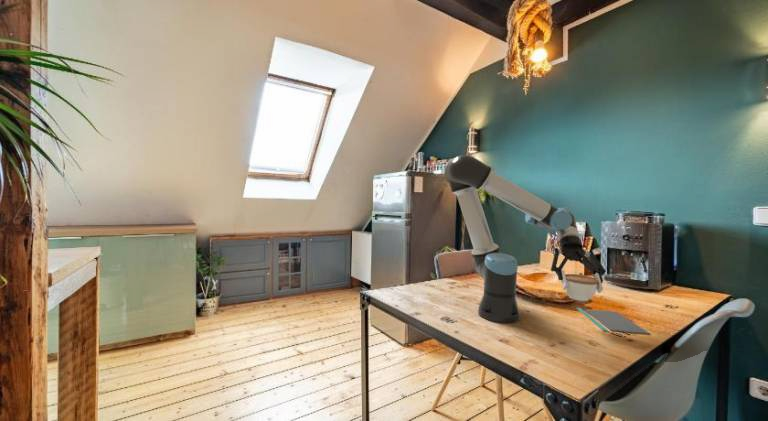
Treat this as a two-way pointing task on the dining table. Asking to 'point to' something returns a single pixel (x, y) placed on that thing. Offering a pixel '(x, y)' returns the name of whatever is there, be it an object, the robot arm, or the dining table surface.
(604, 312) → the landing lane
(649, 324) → the dining table surface
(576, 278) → the lidded jar
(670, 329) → the dining table surface
